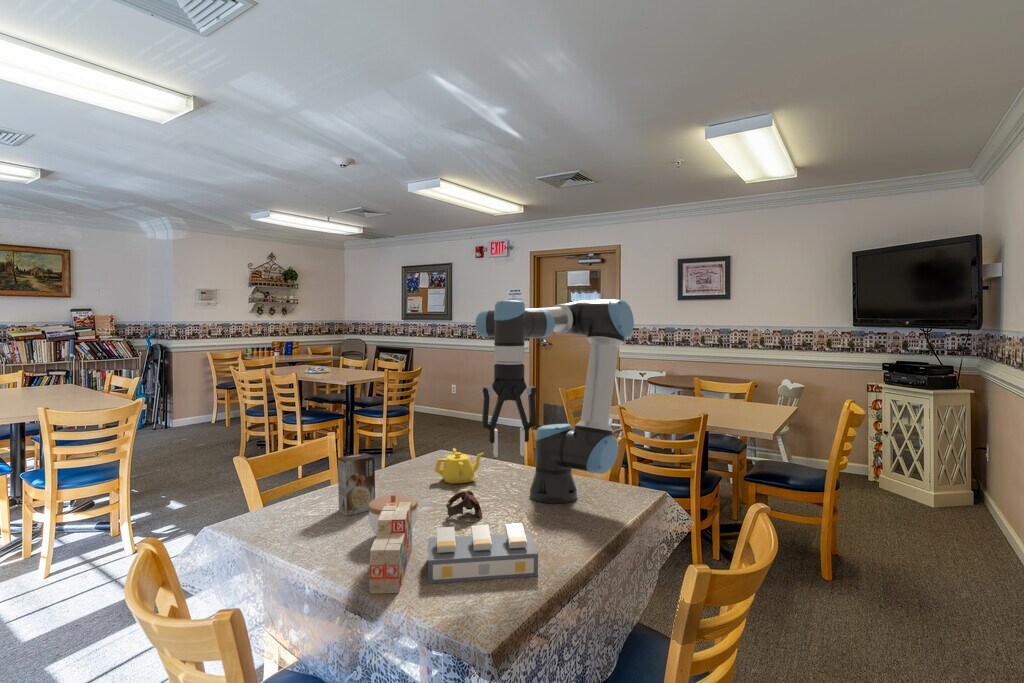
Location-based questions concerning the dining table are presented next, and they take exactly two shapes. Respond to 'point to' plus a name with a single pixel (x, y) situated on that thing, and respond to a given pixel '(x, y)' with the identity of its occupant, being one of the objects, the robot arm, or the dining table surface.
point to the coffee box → (356, 483)
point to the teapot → (457, 468)
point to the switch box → (481, 561)
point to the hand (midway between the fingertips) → (508, 455)
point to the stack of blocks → (391, 548)
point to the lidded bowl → (379, 503)
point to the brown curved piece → (463, 504)
